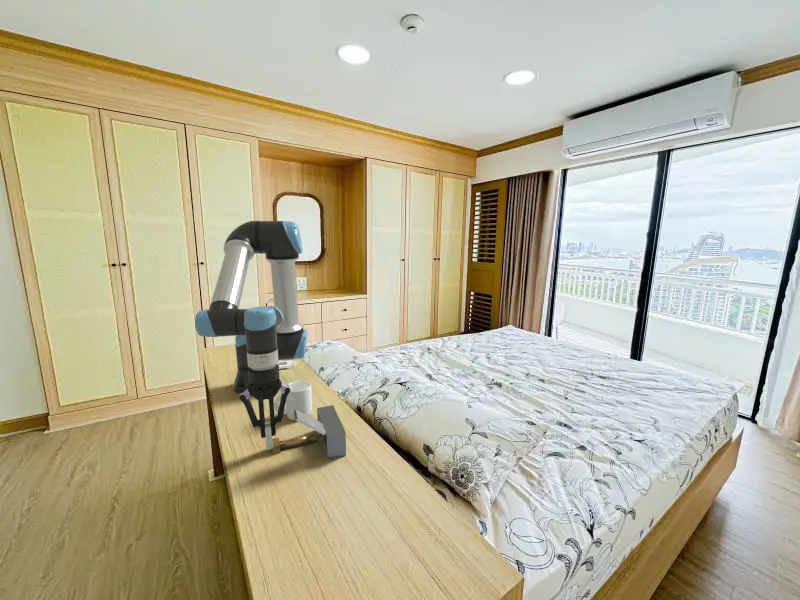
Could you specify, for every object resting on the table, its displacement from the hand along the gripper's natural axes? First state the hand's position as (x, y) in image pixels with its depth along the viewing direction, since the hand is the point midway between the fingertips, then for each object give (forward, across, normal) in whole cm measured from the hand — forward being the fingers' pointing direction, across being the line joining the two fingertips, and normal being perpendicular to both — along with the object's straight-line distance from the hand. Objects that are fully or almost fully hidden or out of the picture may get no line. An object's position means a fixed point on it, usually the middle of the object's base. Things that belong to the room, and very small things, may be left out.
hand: (269, 446), depth 92 cm
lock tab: (-9, +10, -7) cm, 15 cm away
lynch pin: (+2, +7, 0) cm, 7 cm away
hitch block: (+1, +17, -2) cm, 17 cm away
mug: (+2, +8, +17) cm, 19 cm away
